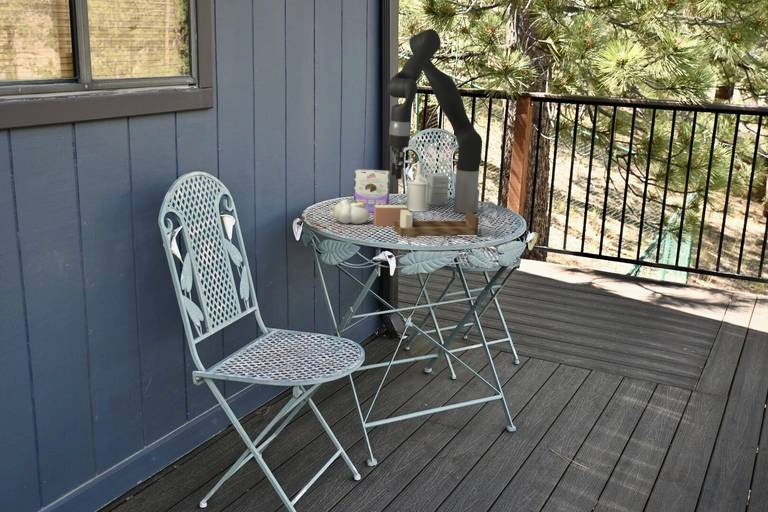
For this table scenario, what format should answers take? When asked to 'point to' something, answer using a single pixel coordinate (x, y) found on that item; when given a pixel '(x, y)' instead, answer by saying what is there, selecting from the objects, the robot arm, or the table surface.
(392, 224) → the book
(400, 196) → the table surface
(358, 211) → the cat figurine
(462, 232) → the book rack
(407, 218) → the bookend
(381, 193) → the candy box
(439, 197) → the supplement box
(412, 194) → the white bottle
